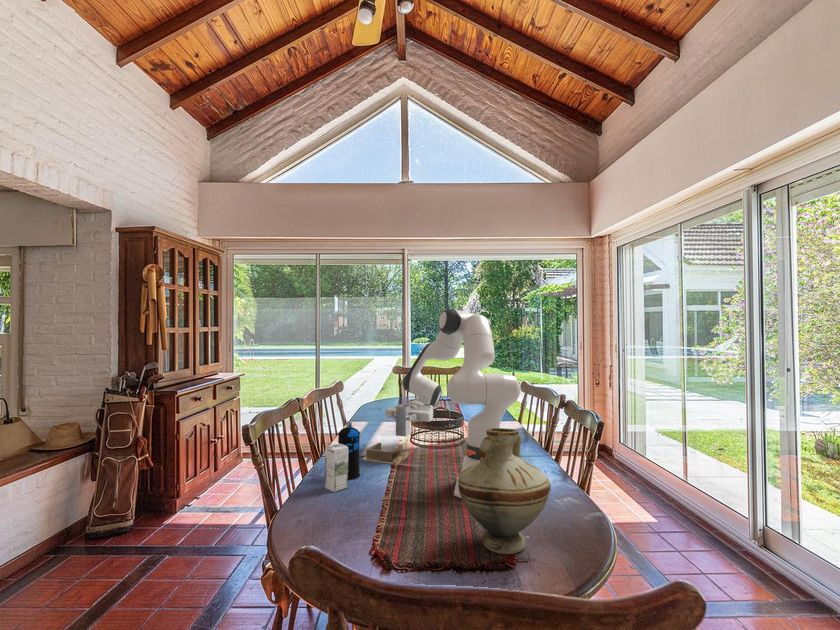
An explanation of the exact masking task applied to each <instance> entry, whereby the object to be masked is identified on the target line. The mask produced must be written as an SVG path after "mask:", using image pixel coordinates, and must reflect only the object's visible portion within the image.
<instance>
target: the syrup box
mask: <svg viewBox="0 0 840 630" xmlns="http://www.w3.org/2000/svg"><path fill="white" fill-rule="evenodd" d="M324 452H325V454H324V455H325V456H324V457H325V458H324V459H325V461H324V469H325V470H324V488H325V489H326V490H327V491H330V492H331V493H336V492H340V491H343V490H346V489H348V488H349V487H348V485H349V480H348V447H347V446H345V445H343V444H338V443H336V444H331V445H327V446H325V451H324Z"/></svg>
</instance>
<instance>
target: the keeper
mask: <svg viewBox="0 0 840 630" xmlns="http://www.w3.org/2000/svg"><path fill="white" fill-rule="evenodd" d="M403 449H404V446H403V444H402V445H401V444H399V445H397V446H396V447H394V448H393V449H391V450H385V449H382V442H376V443H375V444H373V445H372V446H370V447H368V448H367V449H366V454H365V455H366V456H364V457H363V458H362V459H361V461H365V462H373V463H379V464H381V463H382V464H388V465H389V464H390V465H393V461H394V460H395V459H396V458H398V457H399V456H401V455H402V454H403V453H405V452H404V450H403Z"/></svg>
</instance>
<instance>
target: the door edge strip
mask: <svg viewBox="0 0 840 630" xmlns="http://www.w3.org/2000/svg"><path fill="white" fill-rule="evenodd" d="M410 454H411V449H407V450H406V451H405V452H404V453H403V454H402V455H401V456H399V457H398V458H396V459H395V460H394V461H393V464H392V466H393V467H397V466H398V465H399V464H401V463H402V462H403V461H405V458H406V459H407V458H408V457H409V456H411V455H410Z"/></svg>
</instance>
